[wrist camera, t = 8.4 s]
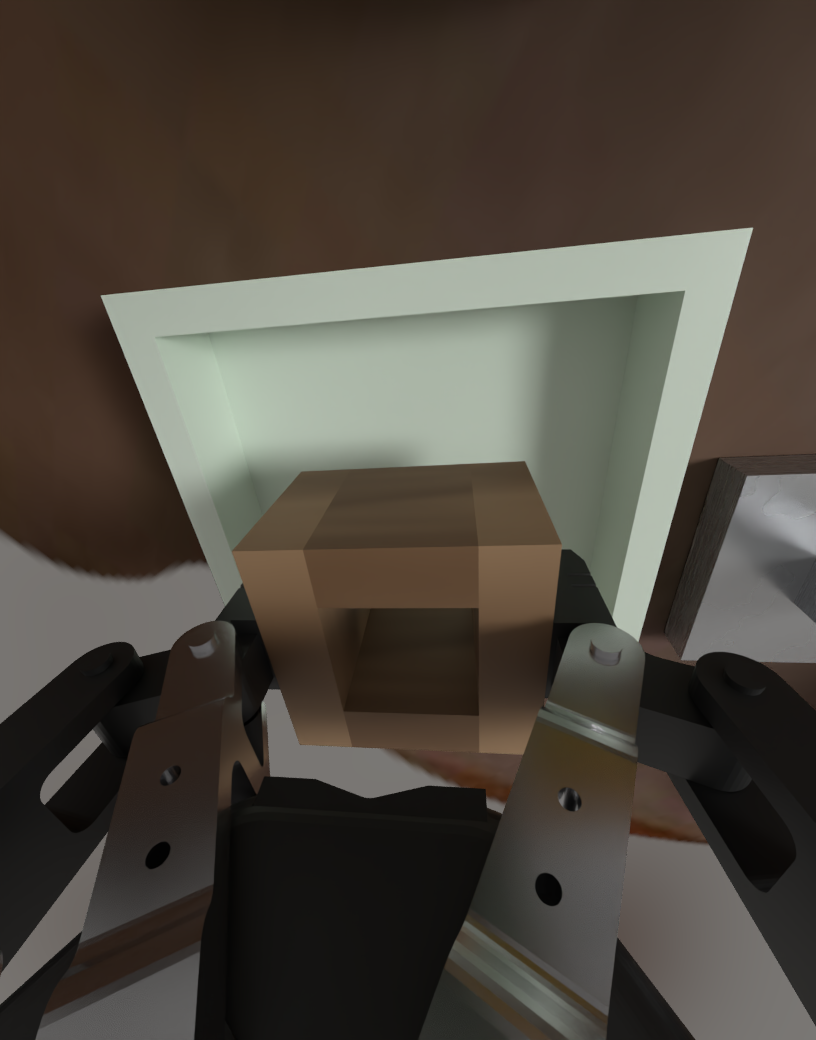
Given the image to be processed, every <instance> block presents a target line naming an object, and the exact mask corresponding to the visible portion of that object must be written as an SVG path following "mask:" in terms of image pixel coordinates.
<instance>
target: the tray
mask: <svg viewBox="0 0 816 1040" xmlns="http://www.w3.org/2000/svg"><path fill="white" fill-rule="evenodd" d="M752 230H753V228H745V229H735V230H725V231H716V232H706V233H697V234H687V235H677V236H668V237H658V238H649V239H639V240H629V241H620V242H610V243H601V244H591V245H581V246H572V247H562V248H553V249H543V250H533V251H524V252H514V253H505V254H495V255H485V256H476V257H466V258H457V259H447V260H437V261H428V262H418V263H409V264H399V265H389V266H380V267H370V268H361V269H351V270H341V271H332V272H322V273H313V274H303V275H293V276H284V277H274V278H265V279H255V280H245V281H236V282H226V283H217V284H207V285H197V286H188V287H178V288H169V289H159V290H149V291H140V292H130V293H121V294H111V295H101V298H102V300H103V303H104V305H105V308H106V310H107V313H108V315H109V318H110V320H111V323H112V325H113V328H114V330H115V333H116V335H117V338H118V340H119V343H120V345H121V348H122V350H123V353H124V355H125V358H126V360H127V363H128V365H129V368H130V370H131V373H132V375H133V378H134V380H135V383H136V385H137V388H138V390H139V393H140V395H141V398H142V400H143V403H144V405H145V408H146V410H147V413H148V415H149V418H150V420H151V423H152V425H153V428H154V430H155V433H156V435H157V438H158V440H159V443H160V445H161V448H162V450H163V453H164V455H165V458H166V460H167V463H168V465H169V468H170V470H171V473H172V475H173V478H174V480H175V483H176V485H177V488H178V490H179V493H180V495H181V498H182V500H183V503H184V505H185V508H186V510H187V513H188V515H189V518H190V520H191V523H192V525H193V528H194V530H195V533H196V535H197V538H198V540H199V543H200V545H201V548H202V550H203V553H204V555H205V558H206V560H207V563H208V565H209V568H210V570H211V573H212V575H213V578H214V580H215V582H216V585H217V587H218V590H219V592H220V595H221V598H222V600H223V603H224V605H225V606H226V605H227V603H228V602H229V601H230V599H231V598H232V597H233V595H234V594H235V592H236V591H237V590H238V588H240V587H241V584H242V583H243V582H242V579H241V576H240V573H239V571H238V568H237V565H236V562H235V559H234V556H233V554H232V550H233V549H234V548H235V547H236V546H237V545H238V544H239V542H240V541H241V540H242V539H243V538H244V537H245V536H246V534H247V533H248V532H249V531H250V530H251V529H252V527H253V526H254V525H255V524H256V523H257V522H258V521H259V519H260V518H261V517H262V516H263V515H264V514H265V513H266V511H267V510H268V509H269V508H270V507H271V506H272V505H273V503H274V502H275V501H276V500H277V499H278V498H279V497H280V495H281V494H282V493H283V492H284V491H285V490H286V489H287V487H288V486H289V485H290V484H291V483H292V482H293V481H294V479H295V478H296V477H297V476H298V475H299V474H300V472H302V471H324V470H345V469H366V468H388V467H409V466H431V465H452V464H474V463H495V462H517V461H525V462H526V464H527V467H528V469H529V471H530V473H531V476H532V478H533V480H534V482H535V485H536V487H537V489H538V491H539V494H540V496H541V498H542V500H543V503H544V505H545V507H546V509H547V512H548V514H549V516H550V518H551V521H552V523H553V525H554V527H555V530H556V532H557V534H558V536H559V539H560V541H561V543H562V549H571V550H572V551H573V552H575V553H576V554H577V555H578V556H580V557H581V558H582V559H583V560H584V561H585V563H586V565H587V567H588V569H589V571H590V573H591V576H592V577H593V579H594V581H595V583H596V587H598V590H599V592H600V594H601V596H602V598H603V600H604V602H605V604H606V606H607V608H608V610H609V612H610V614H611V616H612V618H613V620H614V622H615V624H616V626H617V628H619V629H621V630H623V631H625V632H627V633H628V634H630V635H631V636H632V637H634V638H635V639H636V640H637V641H639V638H640V634H641V631H642V627H643V623H644V620H645V616H646V613H647V609H648V605H649V602H650V598H651V594H652V591H653V587H654V584H655V580H656V576H657V573H658V569H659V566H660V562H661V558H662V555H663V551H664V548H665V544H666V540H667V537H668V533H669V529H670V526H671V522H672V519H673V515H674V511H675V508H676V504H677V501H678V497H679V493H680V490H681V486H682V483H683V479H684V475H685V472H686V468H687V464H688V461H689V457H690V454H691V450H692V446H693V443H694V439H695V436H696V432H697V428H698V425H699V421H700V418H701V414H702V410H703V407H704V403H705V399H706V396H707V392H708V389H709V385H710V381H711V378H712V374H713V371H714V367H715V363H716V360H717V356H718V353H719V349H720V345H721V342H722V338H723V334H724V331H725V327H726V324H727V320H728V316H729V313H730V309H731V306H732V302H733V298H734V295H735V291H736V288H737V284H738V280H739V277H740V273H741V270H742V266H743V262H744V259H745V255H746V251H747V248H748V244H749V241H750V237H751V233H752Z"/></svg>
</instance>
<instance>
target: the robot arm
mask: <svg viewBox="0 0 816 1040" xmlns="http://www.w3.org/2000/svg"><path fill="white" fill-rule="evenodd" d="M268 689H280V687H279V684H278V681H277V678H276V676H275V673H274V670H273V667H272V664H271V661H270V659H269V656H268V653H267V650H266V647H265V644H264V642H263V639H262V636H261V633H260V630H259V627H258V625H257V622H256V619H255V616H254V613H253V610H252V607H251V605H250V602H249V599H248V596H247V593H246V590H245V588H244V585H243V583H242V584H241V587H240V588H238V590H237V591H236V592H235V594H234V595H233V597H232V598H231V599H230V601H229V602H228V603H227V605H226V606H225V608H224V609H223V610H222V612H221V613H220V615H219V616H218V618H217V619H216V620H215V621H211V622H207V623H203V624H200V625H198V626H196V627H194V628H192V629H191V630H189V631H187V632H186V633H184V634H183V635H182V636H181V637H180V638H179V639H178V640H177V641H176V642H175V643H174V645H173V647H172V648H171V650H168V651H163V652H159V653H155V654H151V655H146V656H142V657H139V656H138V654H137V653H136V651H135V649H134V647H133V646H132V645H131V644H129V643H126V642H114V643H110V644H106V645H103V646H100V647H98V648H95V649H93V650H91V651H89V652H88V653H86V654H84V655H83V656H82V657H80V658H78V659H77V660H76V661H74V662H73V663H72V664H71V665H70V666H68V667H67V668H66V669H65V670H64V671H63V672H61V673H60V674H59V675H58V676H57V677H55V678H54V679H53V680H52V681H51V682H50V683H48V684H47V685H46V686H45V687H44V688H42V689H41V690H40V691H39V692H38V693H36V695H34V696H33V697H32V698H31V699H29V700H28V701H27V702H26V703H25V704H23V705H22V706H21V707H20V708H19V709H17V710H16V711H15V712H14V713H13V714H12V715H10V716H9V717H8V718H7V719H6V720H4V721H3V722H2V723H1V724H0V975H1V973H2V971H3V970H4V968H5V967H6V966H7V965H8V963H9V962H10V960H11V959H12V958H13V957H14V955H15V954H16V953H17V951H18V950H19V949H20V947H21V946H22V945H23V943H24V942H25V941H26V939H27V938H28V937H29V935H30V934H31V933H32V931H33V930H34V929H35V928H36V926H37V925H38V923H39V922H40V921H41V920H42V918H43V917H44V916H45V914H46V913H47V911H48V910H49V909H50V908H51V906H52V905H53V904H54V902H55V901H56V900H57V898H58V897H59V896H60V894H61V893H62V892H63V890H64V889H65V888H66V886H67V885H68V884H69V883H70V881H71V880H72V879H73V877H74V876H75V875H76V873H77V872H78V871H79V869H80V868H81V867H82V865H83V864H84V863H85V861H86V860H87V859H88V857H89V856H90V855H91V853H92V852H93V851H94V849H95V848H96V847H97V846H98V844H99V842H100V841H101V840H102V839H103V837H104V836H105V835H106V833H107V832H108V835H107V838H106V843H105V846H104V850H103V854H102V858H101V861H100V865H99V869H98V873H97V877H96V881H95V884H94V888H93V892H92V896H91V899H90V904H89V907H88V911H87V915H86V919H85V923H84V926H83V930H82V931H81V933H79V934H78V935H77V936H76V937H75V938H74V939H73V940H71V941H70V942H69V943H68V944H67V945H66V946H65V947H64V948H63V949H62V950H60V951H59V952H58V953H57V954H56V955H55V956H54V957H53V958H52V959H50V960H49V961H48V962H47V963H46V964H45V965H44V966H43V967H42V968H41V969H39V970H38V971H37V972H36V973H35V974H34V975H33V976H32V977H31V978H29V979H28V980H27V981H26V982H25V983H24V984H23V985H22V986H21V987H20V988H18V989H17V990H16V991H15V992H14V993H13V994H12V995H11V996H9V997H8V998H7V999H6V1000H5V1001H4V1002H3V1003H2V1004H1V1005H0V1040H695V1038H694V1037H693V1036H692V1035H691V1033H690V1032H689V1031H688V1029H687V1028H686V1027H685V1025H684V1024H683V1023H682V1021H681V1020H680V1019H679V1017H678V1016H677V1015H676V1014H675V1012H674V1011H673V1010H672V1008H671V1007H670V1006H669V1004H668V1003H667V1002H666V1000H665V999H664V998H663V997H662V995H661V994H660V993H659V991H658V990H657V989H656V987H655V986H654V985H653V984H652V982H651V981H650V980H649V978H648V977H647V976H646V975H645V973H644V972H643V971H642V969H641V968H640V967H639V965H638V964H637V962H636V961H635V960H634V959H633V957H632V956H631V955H630V953H629V952H628V951H627V949H626V948H625V947H624V945H623V944H622V943H621V942H620V940H619V939H618V938H617V933H618V925H619V916H620V907H621V899H622V890H623V881H624V873H625V864H626V856H627V846H628V838H629V830H630V821H631V812H632V804H633V795H634V786H635V778H636V769H637V762H639V763H642V764H644V765H647V766H650V767H653V768H656V769H659V770H662V771H665V772H667V774H668V775H669V777H670V779H671V781H672V782H673V784H674V786H675V787H676V789H677V791H678V792H679V794H680V796H681V798H682V799H683V801H684V803H685V804H686V806H687V808H688V809H689V811H690V813H691V815H692V816H693V818H694V820H695V821H696V823H697V825H698V827H699V828H700V830H701V832H702V833H703V835H704V837H705V838H706V840H707V842H708V844H709V845H710V847H711V849H712V850H713V852H714V854H715V855H716V857H717V859H718V860H719V862H720V864H721V866H722V867H723V869H724V871H725V872H726V874H727V876H728V878H729V879H730V881H731V882H732V884H733V886H734V888H735V889H736V891H737V893H738V894H739V896H740V898H741V900H742V901H743V903H744V905H745V907H746V908H747V910H748V911H749V913H750V915H751V917H752V918H753V920H754V922H755V924H756V925H757V927H758V929H759V930H760V932H761V933H762V935H763V937H764V939H765V941H766V942H767V944H768V946H769V947H770V949H771V951H772V952H773V954H774V956H775V958H776V959H777V961H778V963H779V964H780V966H781V968H782V970H783V971H784V973H785V975H786V976H787V978H788V980H789V981H790V983H791V985H792V987H793V988H794V990H795V992H796V993H797V995H798V997H799V998H800V1000H801V1002H802V1004H803V1005H804V1007H805V1009H806V1010H807V1012H808V1014H809V1015H810V1017H811V1019H812V1021H813V1022H814V1024H815V1026H816V711H815V710H814V709H813V708H812V707H811V706H810V705H809V704H808V703H807V702H806V701H805V700H804V699H803V698H802V697H801V696H800V695H799V694H798V693H797V692H796V691H794V690H793V689H792V688H791V687H790V686H789V685H788V684H787V683H786V682H785V681H784V680H783V679H782V678H781V677H780V676H779V675H777V674H776V673H775V672H774V671H772V670H771V669H769V668H768V667H766V666H765V665H763V664H761V663H759V662H757V661H755V660H753V659H750V658H748V657H745V656H742V655H739V654H735V653H730V652H711V653H707V654H704V655H703V656H701V657H700V658H699V659H698V660H697V663H696V665H695V667H694V666H690V665H686V664H682V663H678V662H674V661H670V660H666V659H662V658H659V657H655V656H653V655H650V654H648V653H646V652H644V650H643V648H642V646H641V645H640V644H639V642H638V641H637V640H636V639H635V638H634V637H632V636H631V635H630V634H628V633H627V632H625V631H623V630H621V629H619V628H617V626H616V624H615V622H614V620H613V618H612V616H611V614H610V612H609V610H608V608H607V606H606V604H605V602H604V600H603V598H602V596H601V594H600V592H599V590H598V587H596V583H595V581H594V579H593V577H592V576H591V573H590V571H589V569H588V567H587V565H586V563H585V561H584V560H583V559H582V558H581V557H580V556H578V555H577V554H576V553H575V552H573V551H572V550H571V549H561V558H560V567H559V576H558V585H557V594H556V602H555V611H554V620H553V629H552V638H551V646H550V655H549V664H548V673H547V682H546V690H545V698H548V700H547V703H546V705H545V707H543V706H542V707H541V708H540V710H539V712H538V715H537V717H536V720H535V723H534V726H533V729H532V731H531V734H530V737H529V740H528V743H527V746H526V749H525V751H524V754H523V757H522V760H521V763H520V766H519V768H518V771H517V774H516V777H515V780H514V783H513V785H512V788H511V791H510V794H509V797H508V800H507V803H506V805H505V808H504V811H503V814H501V813H499V812H496V811H494V810H491V809H489V808H487V805H486V790H485V789H476V788H459V787H441V786H425V787H420V788H416V789H412V790H407V791H402V792H398V793H394V794H389V795H385V796H380V797H376V798H364V797H361V796H358V795H356V794H353V793H350V792H348V791H345V790H343V789H340V788H337V787H335V786H332V785H330V784H327V783H324V782H322V781H319V780H316V779H303V778H286V777H270V768H269V751H268V732H267V714H266V706H265V704H264V701H263V699H264V697H265V695H266V693H267V691H268ZM92 729H93V730H94V731H95V733H96V734H97V735H98V737H99V738H100V739H101V741H102V743H101V744H100V745H99V747H97V749H96V750H95V751H94V752H93V753H92V754H91V755H90V756H89V757H88V758H87V759H86V761H85V762H84V763H83V764H82V765H81V766H80V767H79V768H78V769H77V770H76V771H75V773H74V774H73V775H72V776H71V777H70V778H69V779H68V780H67V781H66V782H65V784H64V785H63V786H62V787H61V788H60V789H59V790H58V791H57V792H56V793H55V795H54V796H53V797H52V798H51V799H50V800H49V801H48V802H47V803H46V804H45V805H44V804H43V803H42V802H41V800H40V791H41V787H42V785H43V783H44V781H45V779H46V778H47V777H48V775H49V774H50V773H51V772H52V771H53V769H54V768H55V767H56V766H57V765H58V764H59V763H60V762H61V761H62V760H63V759H64V758H65V757H66V756H67V755H68V754H69V753H70V752H71V751H72V750H73V749H74V748H75V746H77V745H78V744H79V743H80V741H81V740H82V739H83V738H84V737H85V736H86V735H87V734H88V733H89V732H90V731H91V730H92Z"/></svg>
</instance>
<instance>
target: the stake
mask: <svg viewBox="0 0 816 1040" xmlns="http://www.w3.org/2000/svg"><path fill="white" fill-rule="evenodd" d="M664 633H665V635H666V637H667V638H668V640H669V642H670V643H671V645H672V646H673V648H674V650H675V651H676V653H677V655H678V656H679V658H680V659H681V660H698V659H699V658H700V657H701V656H703V655H704V654H707V653H711V652H730V653H735V654H739V655H742V656H745V657H748V658H750V659H753V660H755V661H757V662H796V663H816V454H809V455H783V456H756V457H730V458H719V459H718V463H717V466H716V469H715V472H714V475H713V478H712V482H711V485H710V488H709V491H708V494H707V498H706V501H705V504H704V507H703V510H702V513H701V517H700V520H699V523H698V526H697V529H696V532H695V536H694V539H693V542H692V545H691V548H690V551H689V555H688V558H687V561H686V564H685V567H684V570H683V574H682V577H681V580H680V583H679V586H678V589H677V593H676V596H675V599H674V602H673V605H672V609H671V612H670V615H669V618H668V621H667V624H666V628H665V631H664Z"/></svg>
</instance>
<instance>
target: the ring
mask: <svg viewBox="0 0 816 1040" xmlns="http://www.w3.org/2000/svg"><path fill="white" fill-rule="evenodd" d="M561 549H562V543H561V541H560V539H559V536H558V534H557V532H556V530H555V527H554V525H553V523H552V521H551V518H550V516H549V514H548V512H547V509H546V507H545V505H544V503H543V500H542V498H541V496H540V494H539V491H538V489H537V487H536V485H535V482H534V480H533V478H532V476H531V473H530V471H529V469H528V467H527V464H526V462H525V461H517V462H495V463H474V464H452V465H431V466H409V467H388V468H366V469H345V470H324V471H302V472H300V474H299V475H298V476H297V477H296V478H295V479H294V481H293V482H292V483H291V484H290V485H289V486H288V487H287V489H286V490H285V491H284V492H283V493H282V494H281V495H280V497H279V498H278V499H277V500H276V501H275V502H274V503H273V505H272V506H271V507H270V508H269V509H268V510H267V511H266V513H265V514H264V515H263V516H262V517H261V518H260V519H259V521H258V522H257V523H256V524H255V525H254V526H253V527H252V529H251V530H250V531H249V532H248V533H247V534H246V536H245V537H244V538H243V539H242V540H241V541H240V542H239V544H238V545H237V546H236V547H235V548H234V549H233V550H232V554H233V556H234V559H235V562H236V565H237V568H238V571H239V573H240V576H241V579H242V582H243V585H244V588H245V590H246V593H247V596H248V599H249V602H250V605H251V607H252V610H253V613H254V616H255V619H256V622H257V625H258V627H259V630H260V633H261V636H262V639H263V642H264V644H265V647H266V650H267V653H268V656H269V659H270V661H271V664H272V667H273V670H274V673H275V676H276V678H277V681H278V684H279V687H280V690H281V693H282V695H283V698H284V701H285V704H286V707H287V709H288V712H289V715H290V718H291V721H292V724H293V727H294V729H295V732H296V735H297V738H298V741H299V744H300V745H319V746H340V747H363V748H386V749H409V750H432V751H455V752H477V753H500V754H524V751H525V749H526V746H527V743H528V740H529V737H530V734H531V731H532V729H533V726H534V723H535V720H536V717H537V715H538V712H539V710H540V708H541V707H542V706H543V707H544V699H545V690H546V682H547V673H548V664H549V655H550V646H551V638H552V629H553V620H554V611H555V602H556V594H557V585H558V576H559V567H560V558H561Z"/></svg>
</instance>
